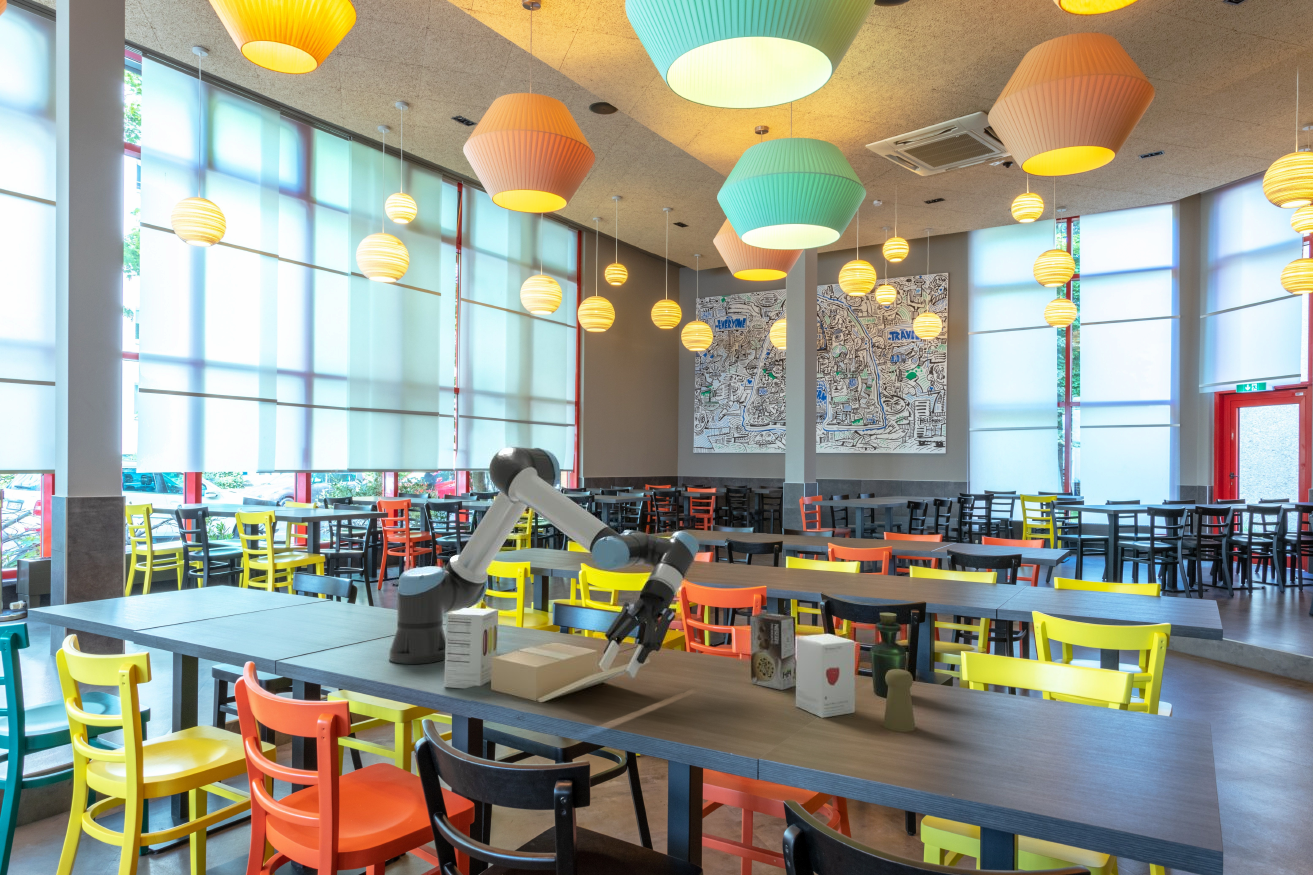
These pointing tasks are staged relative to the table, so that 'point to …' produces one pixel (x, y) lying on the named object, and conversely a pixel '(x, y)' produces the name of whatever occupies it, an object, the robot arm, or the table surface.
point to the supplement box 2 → (825, 675)
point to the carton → (541, 669)
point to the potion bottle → (886, 653)
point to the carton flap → (588, 682)
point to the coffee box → (773, 650)
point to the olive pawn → (899, 701)
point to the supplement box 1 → (470, 646)
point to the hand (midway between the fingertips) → (615, 671)
